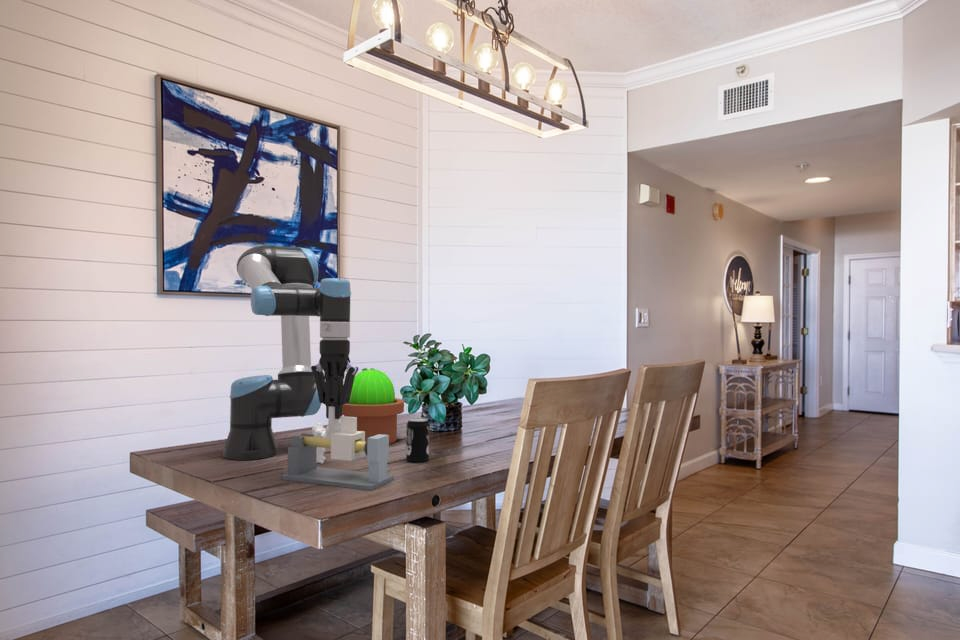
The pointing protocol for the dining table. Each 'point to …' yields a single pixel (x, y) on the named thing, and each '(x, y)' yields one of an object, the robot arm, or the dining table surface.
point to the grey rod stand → (306, 470)
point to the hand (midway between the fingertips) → (333, 431)
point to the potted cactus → (374, 404)
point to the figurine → (321, 433)
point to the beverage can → (417, 440)
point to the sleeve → (346, 440)
